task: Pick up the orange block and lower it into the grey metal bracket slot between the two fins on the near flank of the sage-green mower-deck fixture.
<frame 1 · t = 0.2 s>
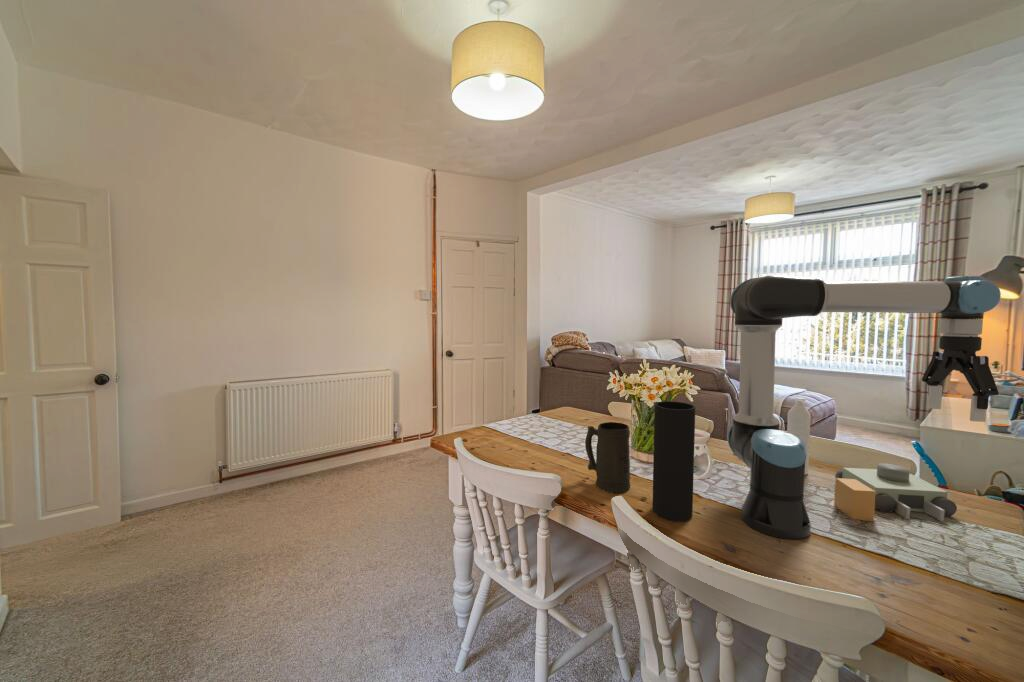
hand: (954, 414, 109), 27 cm above the table, fingers open, 13 cm apart
water bottle: (796, 471, 142), on the table
vase: (672, 513, 113), on the table
orange block: (853, 512, 112), on the table
beer stein: (605, 484, 131), on the table
mower deck: (889, 498, 120), on the table
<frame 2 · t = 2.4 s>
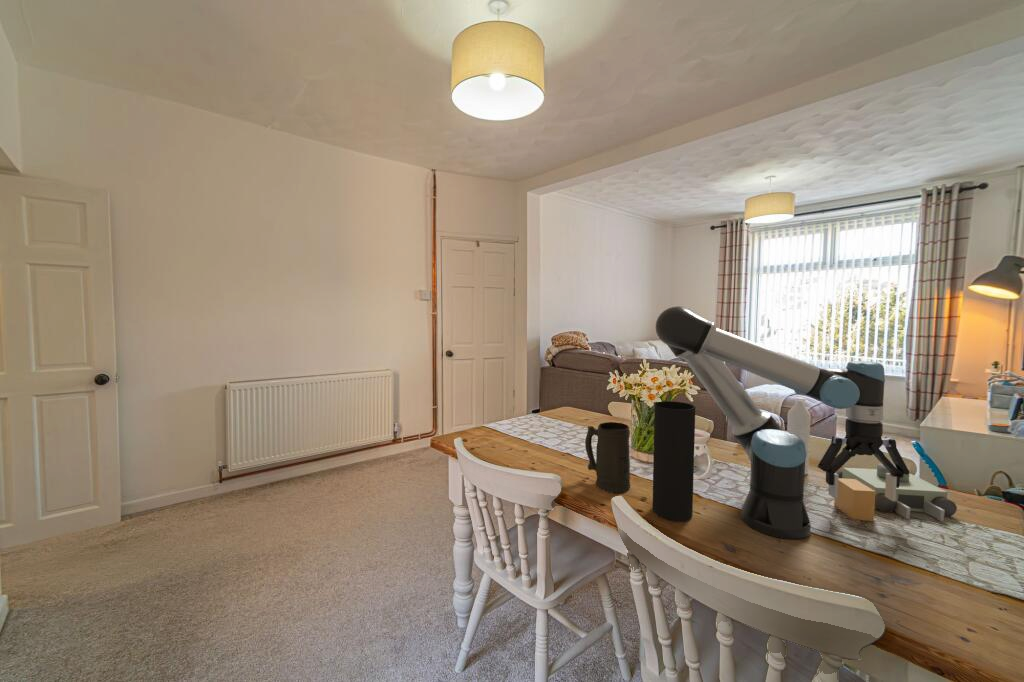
hand: (861, 497, 110), 5 cm above the table, fingers open, 13 cm apart
nothing on the table moved.
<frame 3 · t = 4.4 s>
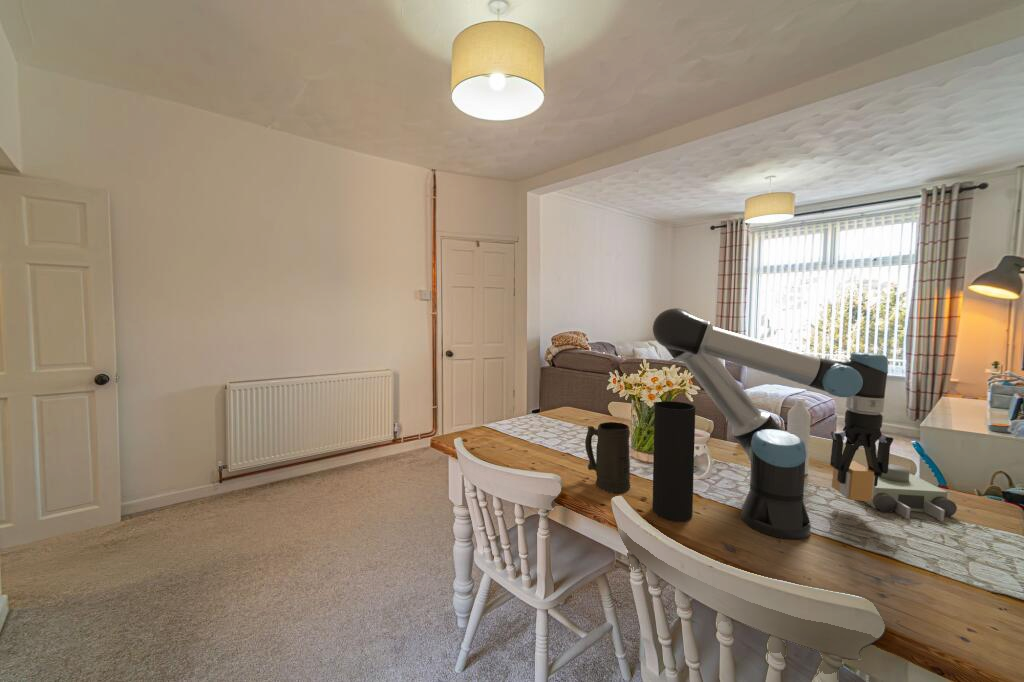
hand: (855, 495, 110), 6 cm above the table, fingers closed on orange block, 5 cm apart
orange block: (850, 493, 112), point 5 cm above the table, touching gripper
everything else where it was.
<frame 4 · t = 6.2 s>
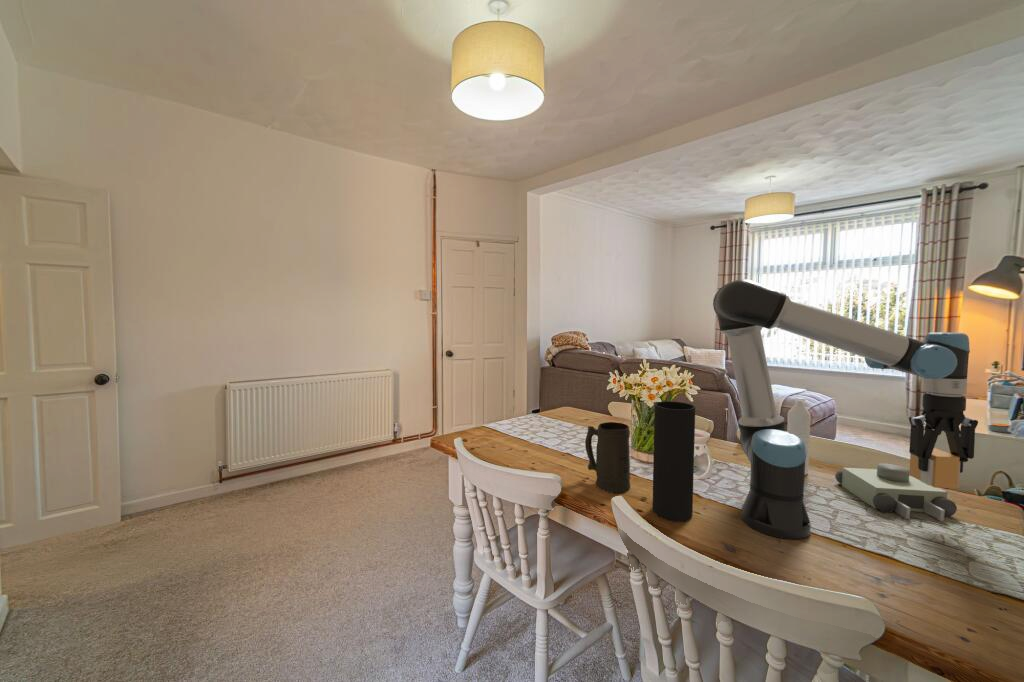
hand: (939, 483, 104), 11 cm above the table, fingers closed on orange block, 5 cm apart
orange block: (932, 481, 106), point 11 cm above the table, touching gripper
everything else where it was.
when the fingers open (0 cm above the table, at t = 7.9 s): orange block stays where it is, on the table.
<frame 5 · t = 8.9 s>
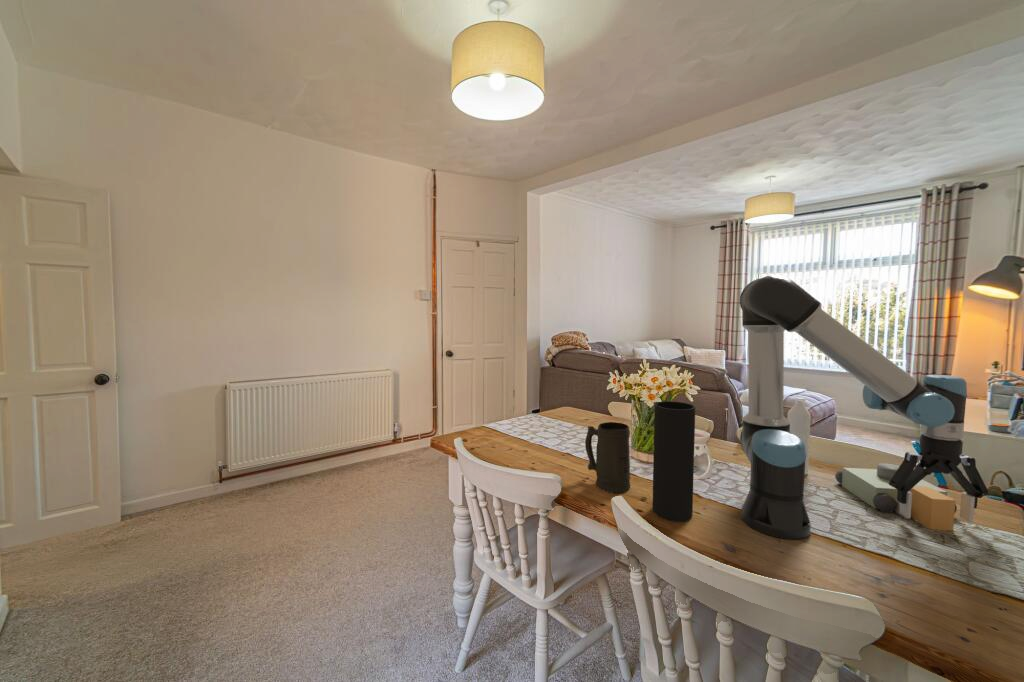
hand: (935, 517, 105), 2 cm above the table, fingers open, 13 cm apart
orange block: (928, 522, 107), on the table
everything else where it was.
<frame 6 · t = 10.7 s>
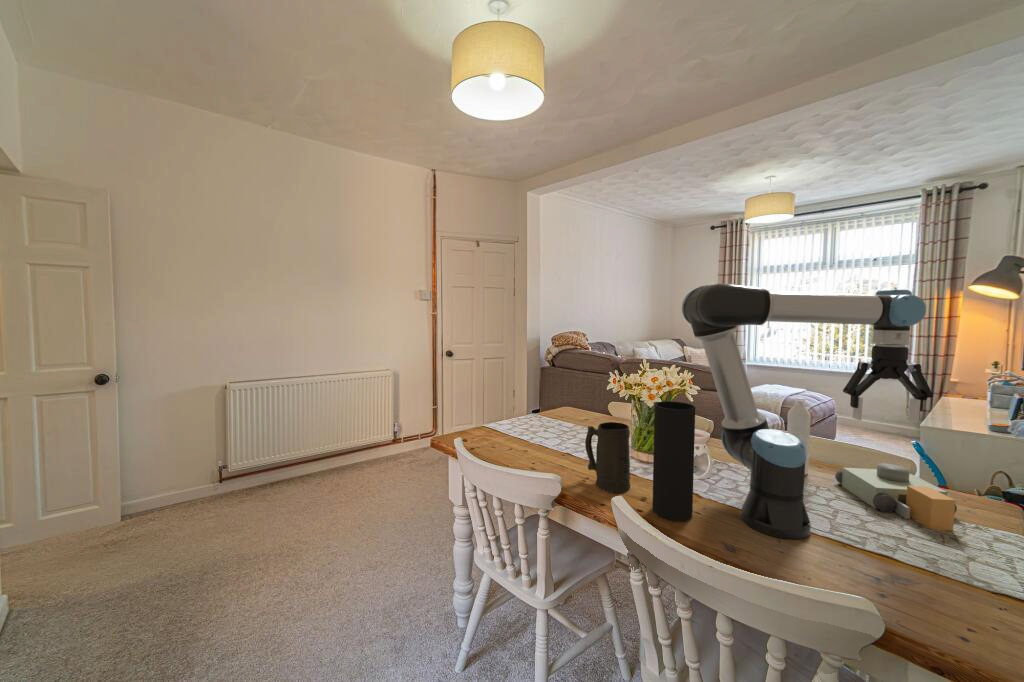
hand: (884, 420, 115), 24 cm above the table, fingers open, 13 cm apart
nothing on the table moved.
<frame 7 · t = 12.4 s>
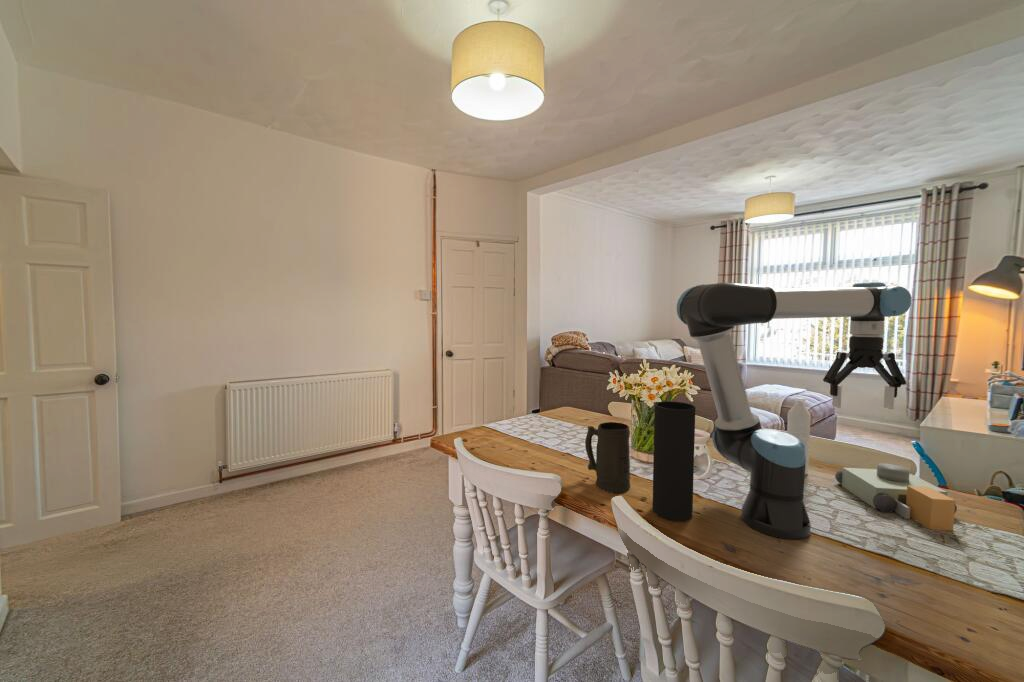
hand: (862, 407, 121), 27 cm above the table, fingers open, 13 cm apart
nothing on the table moved.
at the end: orange block 0.0 cm from the target spot on the mower deck, point 0.0 cm above the mower deck's base; orange block tilted 0°; the gripper is holding nothing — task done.
